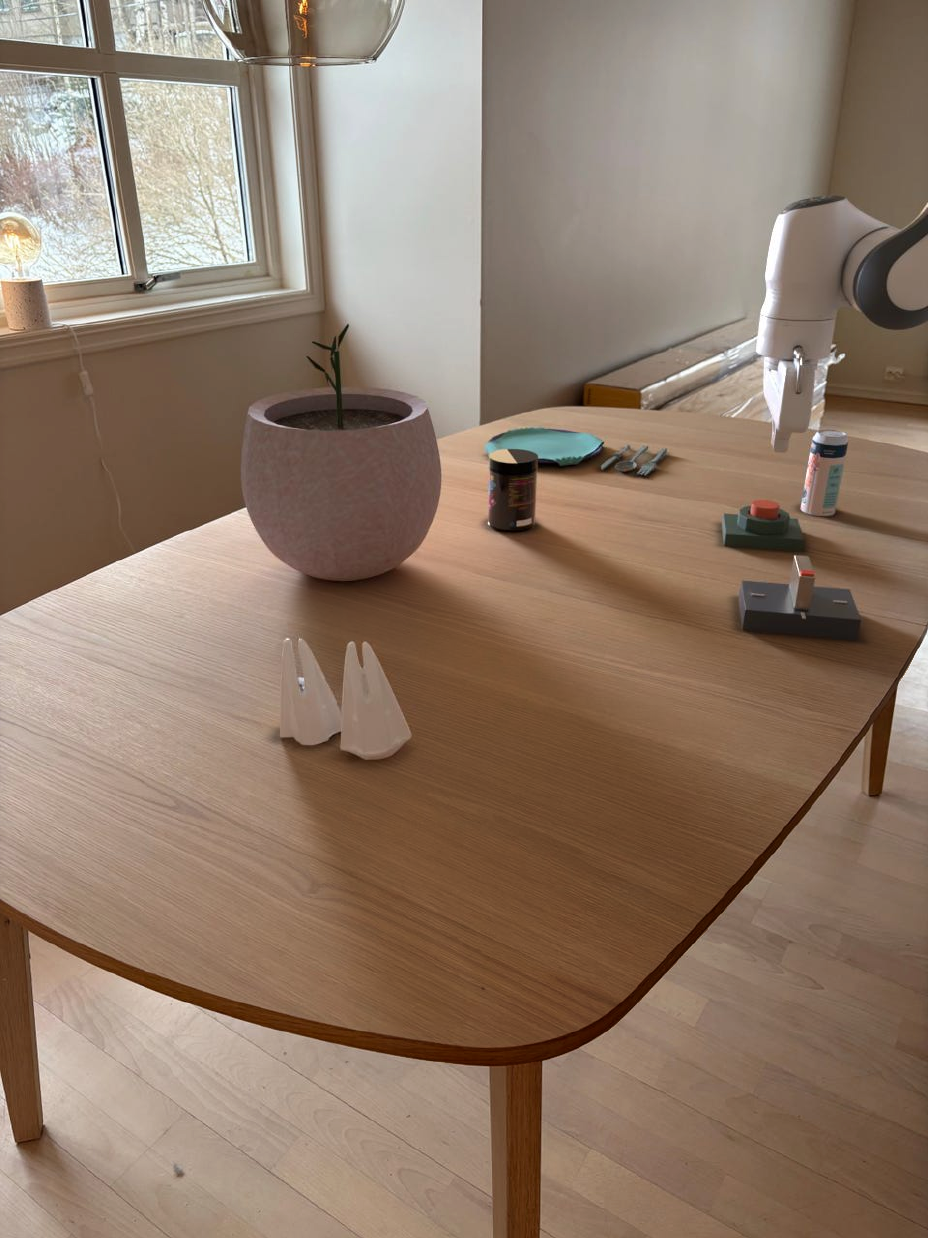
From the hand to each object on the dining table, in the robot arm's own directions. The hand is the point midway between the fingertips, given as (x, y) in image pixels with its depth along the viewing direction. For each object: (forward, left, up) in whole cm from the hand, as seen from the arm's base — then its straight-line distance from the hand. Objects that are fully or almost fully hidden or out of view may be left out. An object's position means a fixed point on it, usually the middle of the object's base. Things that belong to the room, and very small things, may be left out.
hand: (778, 449), depth 123 cm
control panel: (-1, +24, -13) cm, 28 cm away
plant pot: (+53, +20, -13) cm, 58 cm away
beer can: (-8, -14, -13) cm, 21 cm away
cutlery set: (+30, -34, -13) cm, 47 cm away
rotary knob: (-1, +24, -10) cm, 26 cm away
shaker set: (+41, +58, -13) cm, 72 cm away
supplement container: (+35, +1, -13) cm, 37 cm away
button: (+1, -1, -9) cm, 9 cm away
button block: (+1, -1, -13) cm, 13 cm away
